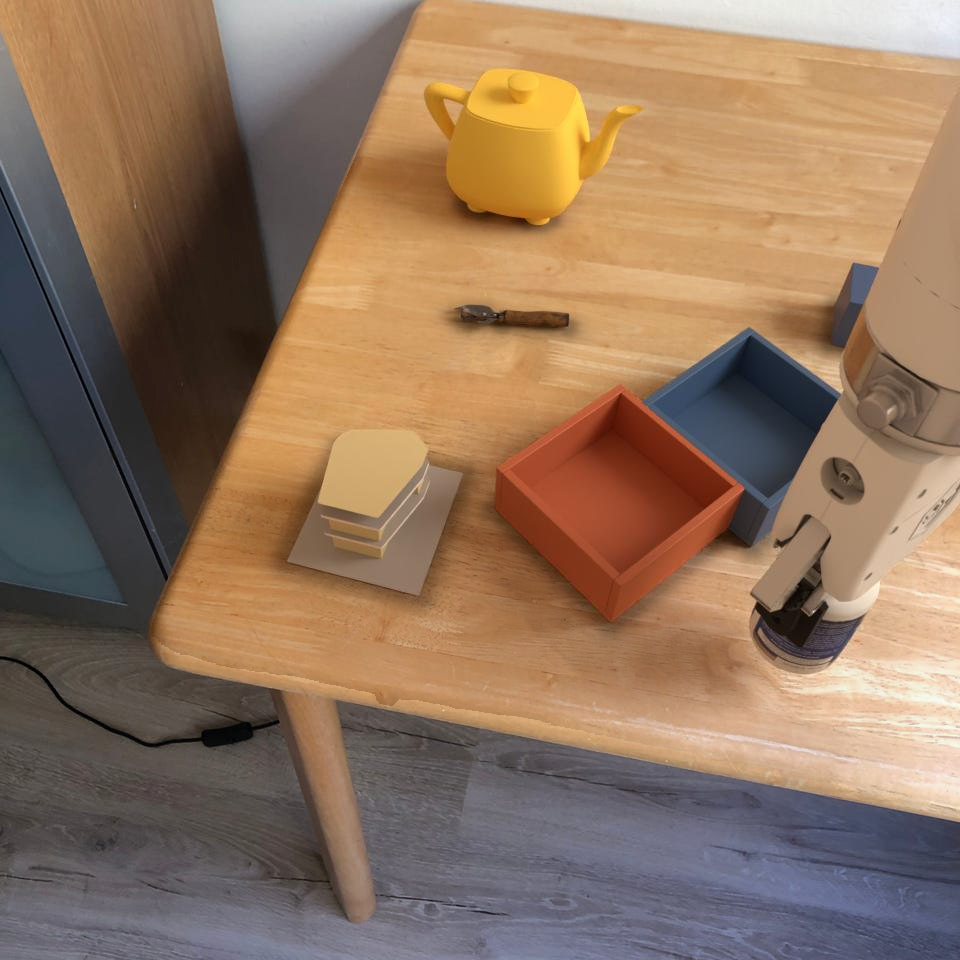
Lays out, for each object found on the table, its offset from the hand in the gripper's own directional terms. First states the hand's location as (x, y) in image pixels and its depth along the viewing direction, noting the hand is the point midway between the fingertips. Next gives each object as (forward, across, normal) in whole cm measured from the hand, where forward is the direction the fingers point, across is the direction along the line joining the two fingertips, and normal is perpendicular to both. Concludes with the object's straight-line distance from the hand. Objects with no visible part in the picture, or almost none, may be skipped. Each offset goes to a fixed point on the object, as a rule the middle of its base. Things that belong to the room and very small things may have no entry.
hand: (817, 592), depth 53 cm
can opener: (+7, +6, +32) cm, 33 cm away
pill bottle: (+5, 0, 0) cm, 5 cm away
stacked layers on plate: (+8, -13, +24) cm, 28 cm away
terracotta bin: (+8, -1, +14) cm, 16 cm away
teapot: (+7, +17, +43) cm, 47 cm away
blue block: (+7, +27, +14) cm, 31 cm away
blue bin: (+7, +10, +12) cm, 17 cm away
